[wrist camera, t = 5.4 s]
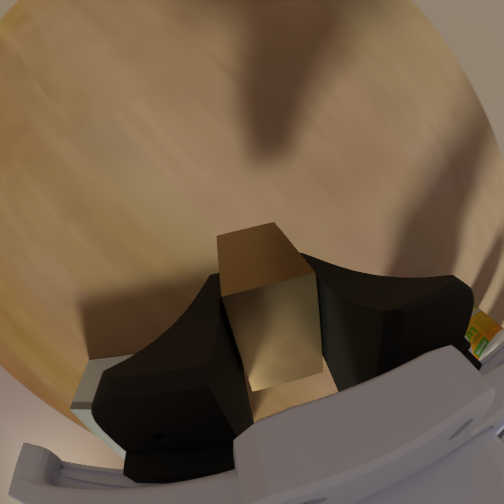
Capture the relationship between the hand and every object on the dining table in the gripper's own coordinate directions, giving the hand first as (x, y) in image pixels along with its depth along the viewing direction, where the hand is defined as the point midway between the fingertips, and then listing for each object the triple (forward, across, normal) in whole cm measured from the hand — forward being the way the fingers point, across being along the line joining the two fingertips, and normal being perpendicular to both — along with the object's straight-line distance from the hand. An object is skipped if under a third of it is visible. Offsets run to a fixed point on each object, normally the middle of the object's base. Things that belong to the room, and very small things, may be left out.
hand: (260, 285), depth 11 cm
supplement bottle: (+8, -25, +18) cm, 32 cm away
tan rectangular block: (+1, 0, 0) cm, 1 cm away
